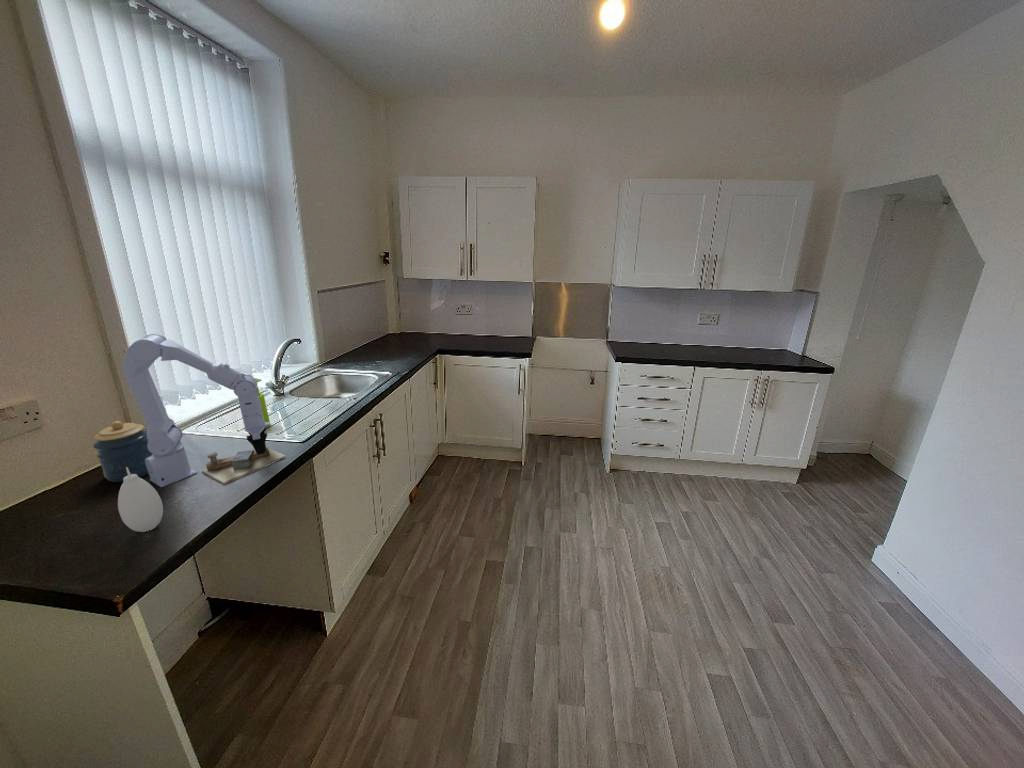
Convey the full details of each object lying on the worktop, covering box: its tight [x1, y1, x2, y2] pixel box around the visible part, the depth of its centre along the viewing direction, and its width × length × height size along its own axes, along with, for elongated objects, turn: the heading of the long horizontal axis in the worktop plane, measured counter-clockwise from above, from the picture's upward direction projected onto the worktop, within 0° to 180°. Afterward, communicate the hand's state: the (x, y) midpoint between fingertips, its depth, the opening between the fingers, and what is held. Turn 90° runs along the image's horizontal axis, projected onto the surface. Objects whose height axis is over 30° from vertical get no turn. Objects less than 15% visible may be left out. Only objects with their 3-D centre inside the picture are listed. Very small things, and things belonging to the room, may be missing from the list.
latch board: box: [201, 446, 287, 485], centre depth 132 cm, size 19×14×1 cm
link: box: [205, 443, 270, 470], centre depth 131 cm, size 17×4×5 cm, turn 126°
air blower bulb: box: [117, 467, 164, 533], centre depth 99 cm, size 8×8×18 cm
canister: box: [92, 420, 153, 483], centre depth 126 cm, size 13×13×18 cm
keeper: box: [231, 449, 254, 470], centre depth 130 cm, size 6×4×4 cm
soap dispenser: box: [254, 377, 271, 429], centre depth 157 cm, size 6×7×20 cm
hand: (261, 450), depth 134 cm, fingers open, 4 cm apart
